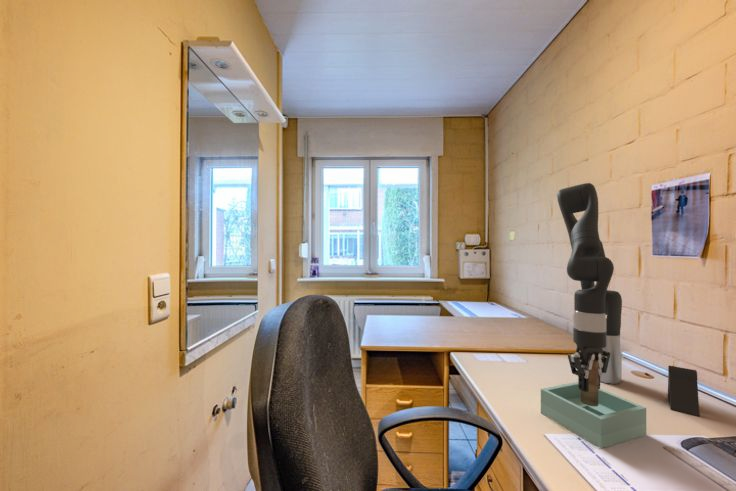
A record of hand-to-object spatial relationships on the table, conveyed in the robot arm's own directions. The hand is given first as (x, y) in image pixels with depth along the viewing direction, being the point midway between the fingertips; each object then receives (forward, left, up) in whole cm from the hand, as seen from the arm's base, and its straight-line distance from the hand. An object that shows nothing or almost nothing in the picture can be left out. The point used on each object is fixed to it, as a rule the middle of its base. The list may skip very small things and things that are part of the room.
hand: (589, 389), depth 85 cm
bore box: (0, 0, -9) cm, 9 cm away
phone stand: (-36, +3, -10) cm, 38 cm away
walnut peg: (0, 0, -4) cm, 4 cm away
